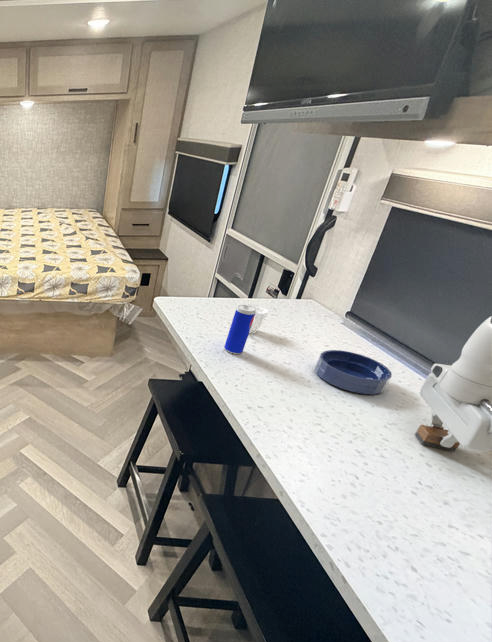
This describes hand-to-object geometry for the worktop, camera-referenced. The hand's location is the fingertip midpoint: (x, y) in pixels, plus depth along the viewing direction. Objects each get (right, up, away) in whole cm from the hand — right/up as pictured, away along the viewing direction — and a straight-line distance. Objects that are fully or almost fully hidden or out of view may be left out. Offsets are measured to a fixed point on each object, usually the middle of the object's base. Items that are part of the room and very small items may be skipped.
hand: (438, 437), depth 89 cm
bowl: (0, +10, +23) cm, 25 cm away
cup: (-11, +23, +48) cm, 54 cm away
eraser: (0, -1, +1) cm, 2 cm away
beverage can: (-23, +17, +37) cm, 47 cm away
